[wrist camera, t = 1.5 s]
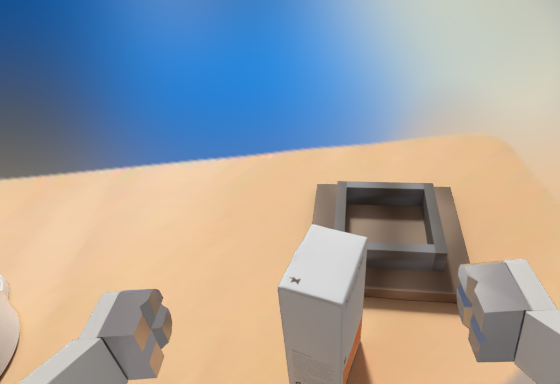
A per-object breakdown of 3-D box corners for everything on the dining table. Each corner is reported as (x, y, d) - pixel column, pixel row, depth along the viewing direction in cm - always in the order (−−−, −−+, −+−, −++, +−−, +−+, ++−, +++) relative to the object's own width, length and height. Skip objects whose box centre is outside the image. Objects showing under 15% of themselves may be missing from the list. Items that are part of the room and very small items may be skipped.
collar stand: (304, 292, 39) (302, 266, 37) (317, 191, 51) (316, 167, 48) (475, 304, 37) (484, 277, 34) (448, 195, 48) (453, 169, 46)
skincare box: (341, 406, 31) (342, 308, 24) (288, 385, 33) (273, 287, 25) (363, 337, 35) (369, 235, 28) (315, 321, 37) (309, 221, 29)
